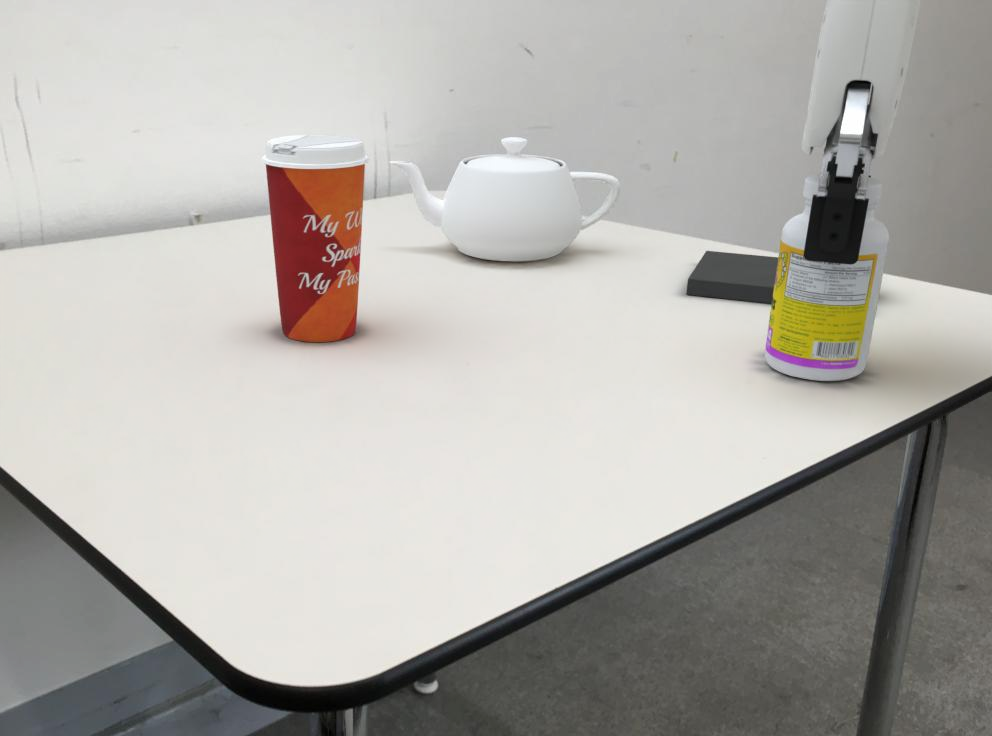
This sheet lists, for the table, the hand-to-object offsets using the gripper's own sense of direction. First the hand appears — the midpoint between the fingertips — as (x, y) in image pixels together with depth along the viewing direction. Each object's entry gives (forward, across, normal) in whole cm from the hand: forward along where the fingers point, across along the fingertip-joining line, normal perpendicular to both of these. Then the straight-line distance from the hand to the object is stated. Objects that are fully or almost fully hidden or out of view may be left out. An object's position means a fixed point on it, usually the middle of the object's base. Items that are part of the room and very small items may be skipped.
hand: (832, 245), depth 72 cm
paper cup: (+9, +6, -35) cm, 37 cm away
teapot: (+9, -24, -30) cm, 39 cm away
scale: (+9, -21, -4) cm, 23 cm away
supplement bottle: (+9, 0, 0) cm, 9 cm away
